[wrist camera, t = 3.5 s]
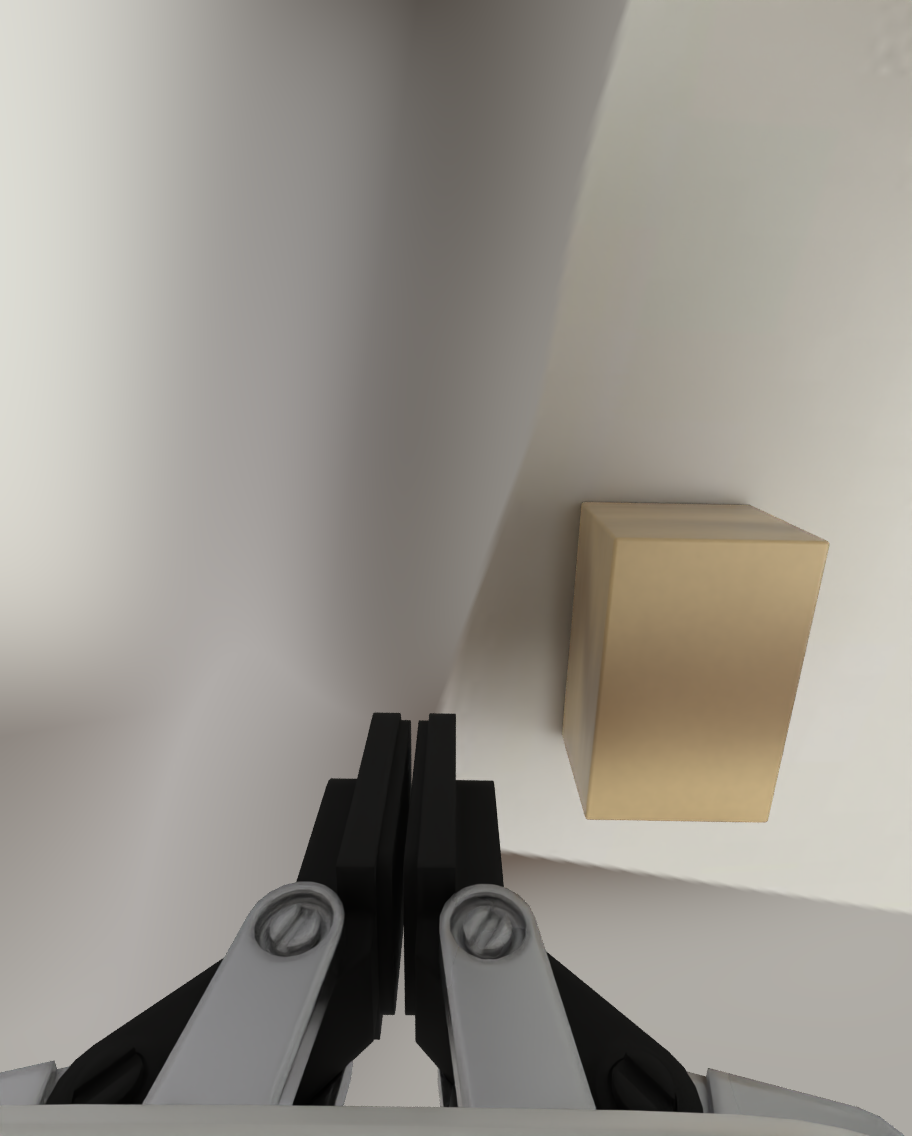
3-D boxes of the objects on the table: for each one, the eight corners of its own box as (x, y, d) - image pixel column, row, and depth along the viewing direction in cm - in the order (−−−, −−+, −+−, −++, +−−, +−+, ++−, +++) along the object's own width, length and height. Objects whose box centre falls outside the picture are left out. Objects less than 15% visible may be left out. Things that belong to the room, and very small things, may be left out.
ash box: (580, 501, 18) (614, 537, 14) (751, 504, 17) (831, 541, 14) (561, 735, 20) (585, 821, 16) (709, 737, 20) (768, 824, 16)
